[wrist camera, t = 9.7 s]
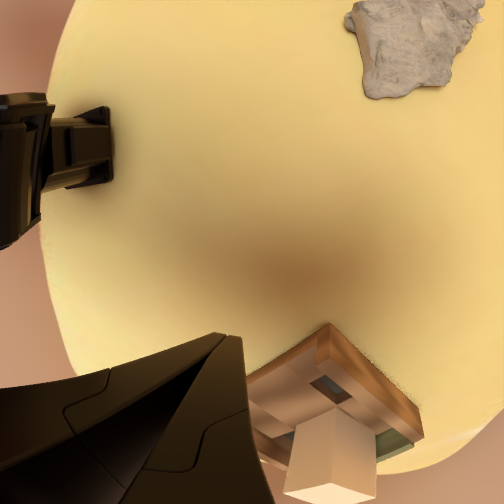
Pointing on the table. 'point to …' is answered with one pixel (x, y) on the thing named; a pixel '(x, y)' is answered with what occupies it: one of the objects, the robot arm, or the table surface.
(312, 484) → the cream block
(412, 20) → the stone
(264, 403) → the tray
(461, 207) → the table surface
